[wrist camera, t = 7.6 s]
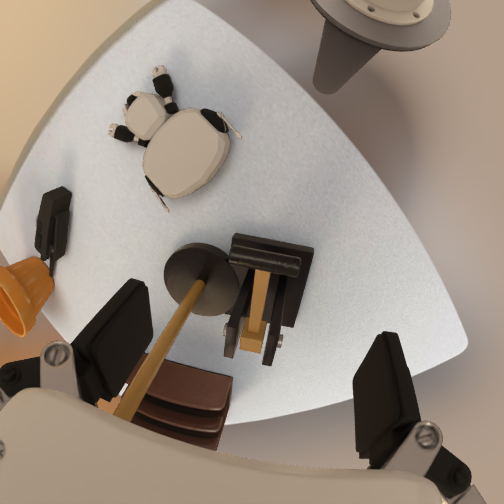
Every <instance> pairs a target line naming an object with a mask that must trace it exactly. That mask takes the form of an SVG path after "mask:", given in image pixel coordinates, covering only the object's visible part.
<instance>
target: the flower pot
mask: <svg viewBox="0 0 504 504" xmlns="http://www.w3.org/2000/svg"><path fill="white" fill-rule="evenodd" d="M53 290H54V282H53V277H50V276H49V269H48V267H47V266H46V265H45V263H44V262H43V261H42V260H41V259H39V258H37V257H31V258H28V259H25V260H22V261H20V262H17V263H15V264H12V265H10V266H7V267H2V266H0V320H1V321H2V322H3V323H4V324H5V326H6V327H7V328H8V329H9V330H10V331H11V332H13V333H14V334H16V335H17V336H19V337H24V336H25V335H26V334H27V333H28V332H29V331H30V330H31V329H32V327H33V326H34V325H35V322H36V316H37V314H38V313H39V311H40V310H41V308H42V307H43V305H44V304H45V302H46V301H47V299H48V298H49V296H50V295H51V293H52V291H53Z"/></svg>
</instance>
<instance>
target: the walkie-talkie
mask: <svg viewBox="0 0 504 504" xmlns="http://www.w3.org/2000/svg"><path fill="white" fill-rule="evenodd" d="M71 195H72V194H71V192H69V191H68V190H67V189H65V188H64V187H63V186H61V187H59V188H56V189H54V190H51V191H49V192H47V193H45V194H43V196H42V201H41V205H40V210H39V215H38V220H37V228H36V229H37V230H36V236H35V248H36V250H37V251H38V252H39V253H40V254H41V260H42V261H46V260H47V259H49V257H50V267H49V276H50V277H53V267H54V261H57V260H58V259H59V258H61V257H62V256H63V255H64V254H65V249H66V242H67V231H68V221H69V211H68V210H69V204H70V199H71Z"/></svg>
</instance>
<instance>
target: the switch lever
mask: <svg viewBox="0 0 504 504" xmlns="http://www.w3.org/2000/svg"><path fill="white" fill-rule="evenodd" d="M300 263H301V258H299V257H294V256H289V255H284V254H278V253H273V252H268V251H263V250H258V249H253V248H248V247H243V246H237V245H232V247H231V249H230V253H229V264H231V265H236V266H241V267H246V268H251V269H255V276H254V285H253V293H252V301H251V309H250V317H249V318H248V317H246V318H245V322H244V326H243V329H242V333H241V337H240V349H241V350H246V351H250V352H255V353H260V352H261V348H262V343H263V339H264V334H265V330H266V325H267V321H262V316H263V311H264V305H265V300H266V295H267V289H268V284H269V278H270V273H276V274H281V275H286V276H291V277H297V276H298V273H299V269H300Z"/></svg>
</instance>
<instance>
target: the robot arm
mask: <svg viewBox="0 0 504 504" xmlns="http://www.w3.org/2000/svg"><path fill="white" fill-rule="evenodd" d="M345 1H346V2H347V3H348V4H349V5H350V6H352V7H353V8H355V9H356V10H358V11H359V12H361V13H362V14H364V15H366V16H368V17H370V18H373V19H375V20H378V21H380V22H384V23H388V24H392V25H412V24H416V23H418V22H420V21H422V20H424V19H425V18H426V17H428V15H429V14H430V13H431V11H432V8H433V5H434V0H345ZM369 10H370V11H371V12H370V11H369ZM152 338H153V326H152V319H151V311H150V302H149V292H148V287H147V286H145V283H144V282H143V281H140V280H136V279H133V278H131V279H129V280H128V281H127V282H126V283H125V284H124V285H123V286H122V287H121V288H120V289H119V290H118V292H117V293H116V294H115V295H114V296H113V297H112V298H111V299H110V300H109V301H108V302H107V303H106V304H105V306H104V307H103V308H102V309H101V310H100V311H99V312H98V313H97V314H96V315H95V316H94V318H93V319H92V320H91V321H90V322H89V323H88V324H87V326H86V327H85V328H84V329H83V330H82V331H81V332H80V334H79V335H78V336H77V337H76V338H75V339H74V341H73V342H72V343H71V344H69V343H67V342H66V341H62V340H56V341H52V342H50V343H48V344H47V345H46V346H45V347H44V348H43V350H42V352H41V355H40V357H35V358H30V359H25V360H19V361H14V362H9V363H6V364H5V365H3V366H2V367H1V368H0V504H486V502H485V501H484V499H483V498H482V496H481V495H480V493H479V491H478V490H477V488H476V487H475V485H472V486H471V485H470V483H471V477H472V476H471V471H470V469H469V468H468V466H467V465H466V464H464V463H463V462H462V461H461V460H459V459H458V458H457V457H456V456H454V455H453V454H452V453H451V452H449V451H448V450H447V449H446V448H444V447H443V446H442V442H443V435H442V432H441V430H440V428H439V427H438V426H437V425H436V424H435V423H433V422H431V421H421V418H420V413H419V408H418V403H417V399H416V395H415V390H414V386H413V382H412V378H411V374H410V371H409V368H408V367H407V364H406V361H405V357H404V353H403V350H402V347H401V343H400V340H399V337H398V334H397V333H394V332H387V331H383V332H382V333H381V334H378V335H377V337H376V338H375V340H374V342H373V344H372V346H371V348H370V349H369V351H368V353H367V355H366V357H365V358H364V360H363V362H362V363H361V365H360V367H359V369H358V370H357V372H356V374H355V375H354V378H353V397H354V414H355V438H356V451H357V452H359V458H360V459H369V464H370V466H369V467H368V468H367V469H332V468H315V467H303V466H294V465H286V464H278V463H271V462H265V461H259V460H253V459H248V458H243V457H238V456H234V455H229V454H225V453H221V452H217V451H213V450H209V449H205V448H202V447H198V446H195V445H191V444H188V443H185V442H182V441H179V440H175V439H172V438H169V437H167V436H164V435H161V434H158V433H155V432H153V431H150V430H147V429H145V428H142V427H140V426H137V425H135V424H133V423H130V422H128V421H126V420H123V419H121V418H119V417H116V416H114V415H112V414H109V413H107V412H105V411H103V410H101V409H98V405H97V402H98V400H99V399H100V398H102V399H104V400H106V401H108V402H110V401H111V399H112V398H113V397H116V396H117V395H118V394H119V392H120V391H121V389H122V387H123V386H124V384H125V383H126V381H127V379H128V378H129V376H130V374H131V373H132V371H133V369H134V368H135V366H136V365H137V363H138V361H139V360H140V358H141V357H142V355H143V353H144V352H145V350H146V349H147V347H148V345H149V344H150V342H151V341H152Z"/></svg>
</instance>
